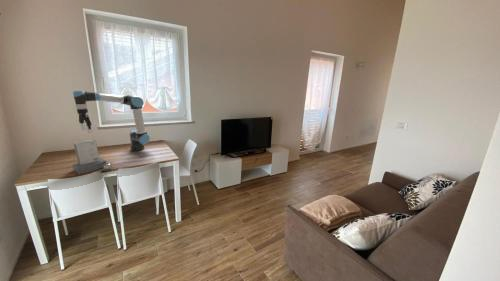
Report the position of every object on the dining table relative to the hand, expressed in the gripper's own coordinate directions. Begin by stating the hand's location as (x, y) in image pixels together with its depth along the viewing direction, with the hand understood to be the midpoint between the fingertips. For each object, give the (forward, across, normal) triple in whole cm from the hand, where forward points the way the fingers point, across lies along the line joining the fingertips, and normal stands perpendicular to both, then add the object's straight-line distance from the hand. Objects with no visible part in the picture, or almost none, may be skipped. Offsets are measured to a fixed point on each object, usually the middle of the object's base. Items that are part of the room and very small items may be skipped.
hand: (87, 131), depth 193 cm
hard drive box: (+28, +4, -5) cm, 29 cm away
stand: (+34, +6, -5) cm, 35 cm away
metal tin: (+35, +20, +4) cm, 40 cm away
